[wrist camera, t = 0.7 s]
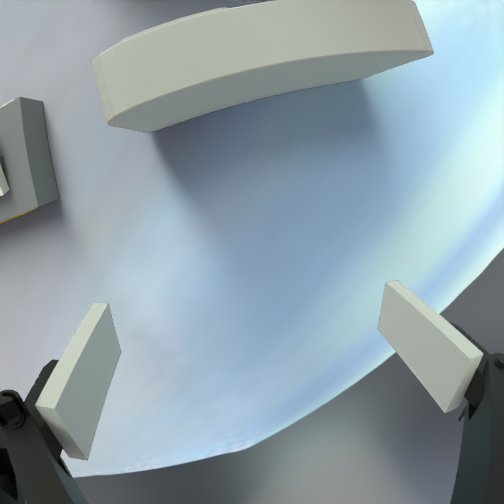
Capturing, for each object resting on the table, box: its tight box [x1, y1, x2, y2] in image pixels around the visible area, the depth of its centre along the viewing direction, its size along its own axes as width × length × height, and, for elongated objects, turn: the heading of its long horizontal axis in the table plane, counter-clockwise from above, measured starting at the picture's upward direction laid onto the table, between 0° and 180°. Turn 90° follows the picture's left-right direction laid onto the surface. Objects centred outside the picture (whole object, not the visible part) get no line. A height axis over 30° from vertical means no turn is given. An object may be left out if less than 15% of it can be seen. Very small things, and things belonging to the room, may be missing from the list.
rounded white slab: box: [92, 0, 434, 133], centre depth 25 cm, size 29×8×18 cm, turn 106°
